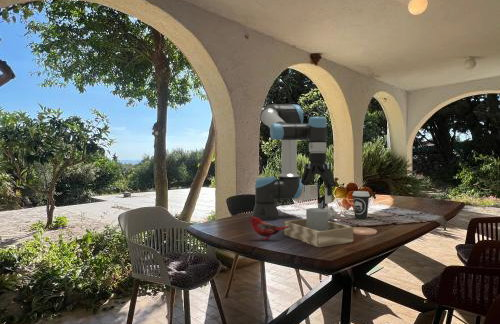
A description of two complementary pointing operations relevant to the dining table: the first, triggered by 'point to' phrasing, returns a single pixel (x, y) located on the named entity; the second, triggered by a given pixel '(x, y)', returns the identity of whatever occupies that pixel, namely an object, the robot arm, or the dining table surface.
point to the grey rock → (331, 213)
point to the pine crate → (319, 233)
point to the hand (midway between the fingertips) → (317, 201)
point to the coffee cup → (361, 204)
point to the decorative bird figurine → (265, 228)
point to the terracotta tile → (364, 231)
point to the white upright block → (317, 219)
